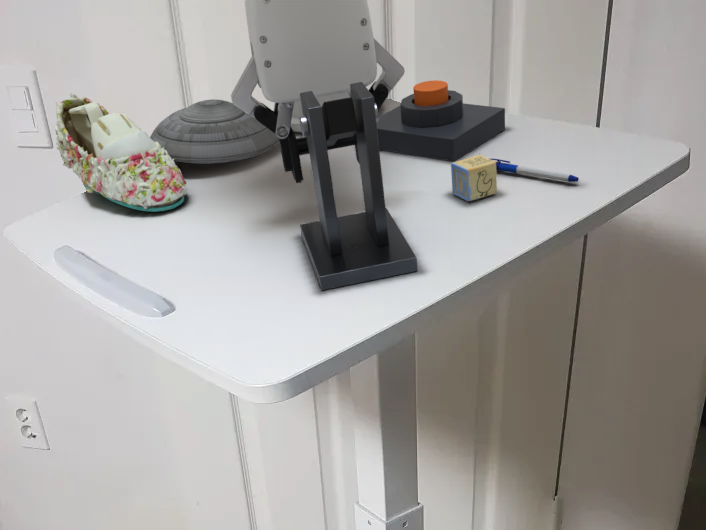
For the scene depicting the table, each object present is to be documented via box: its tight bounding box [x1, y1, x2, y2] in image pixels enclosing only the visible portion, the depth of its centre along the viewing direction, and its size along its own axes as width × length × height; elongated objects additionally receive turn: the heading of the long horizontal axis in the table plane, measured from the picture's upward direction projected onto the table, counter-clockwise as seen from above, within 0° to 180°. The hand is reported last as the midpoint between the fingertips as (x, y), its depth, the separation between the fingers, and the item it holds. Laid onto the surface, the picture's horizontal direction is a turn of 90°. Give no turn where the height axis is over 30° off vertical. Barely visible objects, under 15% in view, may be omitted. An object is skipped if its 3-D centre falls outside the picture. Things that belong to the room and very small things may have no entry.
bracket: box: [299, 82, 418, 291], centre depth 68 cm, size 11×8×13 cm
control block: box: [377, 89, 506, 162], centre depth 90 cm, size 12×10×4 cm
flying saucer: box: [149, 99, 279, 165], centre depth 94 cm, size 15×15×6 cm
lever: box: [296, 97, 358, 157], centre depth 70 cm, size 13×6×2 cm, turn 12°
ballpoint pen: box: [490, 158, 579, 183], centre depth 80 cm, size 10×1×1 cm, turn 52°
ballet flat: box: [54, 92, 188, 213], centre depth 89 cm, size 9×25×8 cm, turn 39°
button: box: [412, 80, 449, 106], centre depth 89 cm, size 4×4×2 cm
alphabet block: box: [450, 154, 498, 202], centre depth 78 cm, size 3×3×3 cm
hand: (330, 169), depth 77 cm, fingers closed on lever, 5 cm apart
